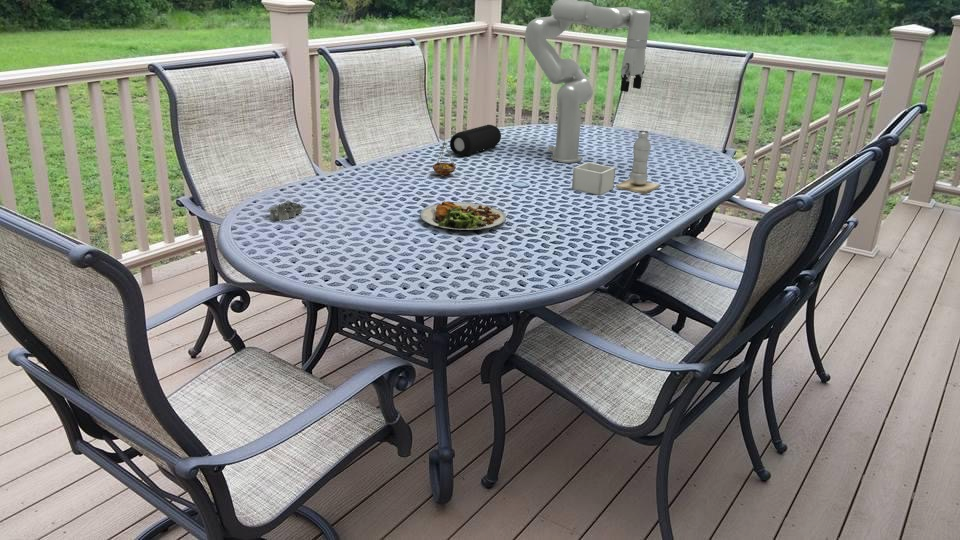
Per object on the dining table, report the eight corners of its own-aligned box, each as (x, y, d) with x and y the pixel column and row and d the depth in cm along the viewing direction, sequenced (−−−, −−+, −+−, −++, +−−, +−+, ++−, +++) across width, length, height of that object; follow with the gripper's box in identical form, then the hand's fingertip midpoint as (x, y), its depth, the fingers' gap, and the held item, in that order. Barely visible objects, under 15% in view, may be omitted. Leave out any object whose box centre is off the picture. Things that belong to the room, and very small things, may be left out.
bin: (571, 188, 294) (573, 167, 290) (585, 182, 302) (587, 162, 298) (599, 195, 287) (601, 173, 284) (613, 188, 295) (615, 167, 292)
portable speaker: (484, 144, 353) (485, 122, 349) (502, 148, 347) (503, 125, 343) (447, 154, 334) (448, 131, 330) (466, 159, 328) (467, 135, 324)
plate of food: (463, 242, 239) (464, 222, 237) (401, 218, 257) (402, 200, 254) (523, 224, 259) (524, 206, 257) (462, 203, 276) (463, 186, 274)
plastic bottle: (645, 182, 301) (651, 130, 293) (647, 187, 294) (653, 134, 287) (628, 181, 301) (634, 129, 293) (629, 186, 295) (635, 133, 287)
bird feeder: (428, 176, 303) (429, 97, 291) (438, 170, 310) (439, 93, 299) (449, 179, 300) (451, 99, 288) (459, 173, 307) (460, 95, 296)
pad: (615, 187, 296) (616, 185, 296) (630, 180, 305) (630, 178, 305) (645, 194, 290) (645, 191, 290) (659, 187, 299) (659, 184, 299)
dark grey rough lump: (283, 223, 250) (282, 211, 249) (266, 218, 254) (265, 206, 252) (306, 214, 259) (305, 202, 257) (289, 210, 262) (288, 198, 261)
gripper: (638, 41, 308) (632, 85, 315) (616, 44, 295) (610, 90, 302) (656, 43, 304) (649, 88, 311) (634, 47, 291) (628, 94, 298)
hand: (630, 89), depth 306 cm, fingers open, 9 cm apart
